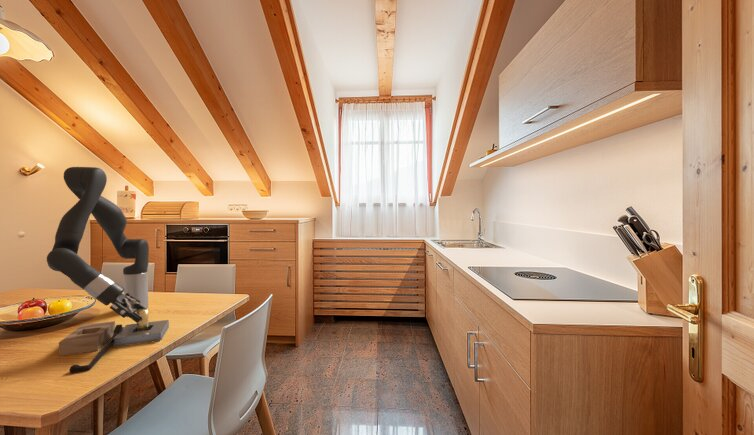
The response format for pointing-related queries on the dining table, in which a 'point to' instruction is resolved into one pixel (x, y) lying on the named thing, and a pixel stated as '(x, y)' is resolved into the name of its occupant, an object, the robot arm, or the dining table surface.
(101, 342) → the brown recessed block
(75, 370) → the wrench
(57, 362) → the dining table surface
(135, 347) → the dining table surface
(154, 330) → the block
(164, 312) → the dining table surface
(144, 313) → the gold round-topped peg
